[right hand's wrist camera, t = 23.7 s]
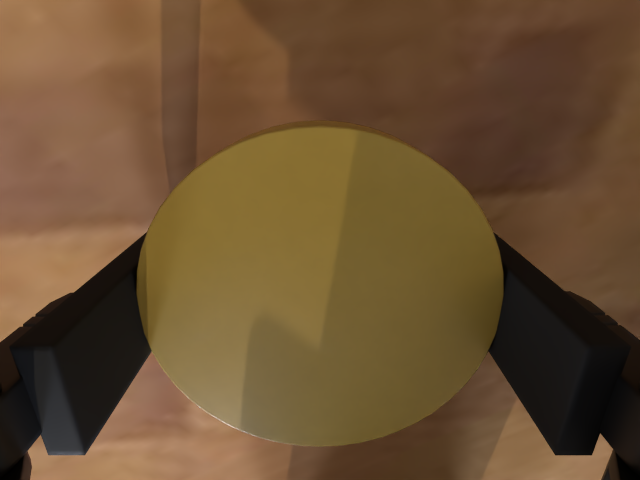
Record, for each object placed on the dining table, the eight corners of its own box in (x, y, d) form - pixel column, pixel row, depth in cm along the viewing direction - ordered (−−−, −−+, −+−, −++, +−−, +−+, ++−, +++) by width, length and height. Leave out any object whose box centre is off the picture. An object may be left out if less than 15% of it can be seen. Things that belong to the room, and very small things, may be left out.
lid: (213, 55, 9) (193, 49, 8) (546, 204, 11) (582, 222, 9) (127, 355, 13) (102, 390, 11) (390, 439, 14) (398, 480, 13)
